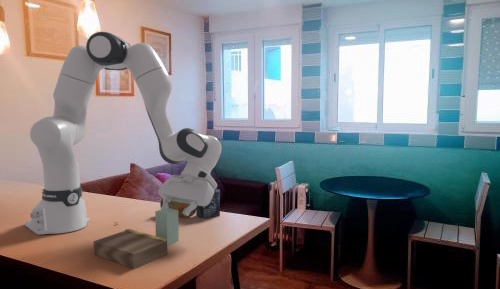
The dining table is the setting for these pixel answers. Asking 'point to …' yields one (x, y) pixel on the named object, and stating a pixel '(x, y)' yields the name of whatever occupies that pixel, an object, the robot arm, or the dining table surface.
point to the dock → (130, 248)
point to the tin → (179, 208)
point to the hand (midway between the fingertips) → (174, 212)
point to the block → (167, 225)
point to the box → (210, 207)
